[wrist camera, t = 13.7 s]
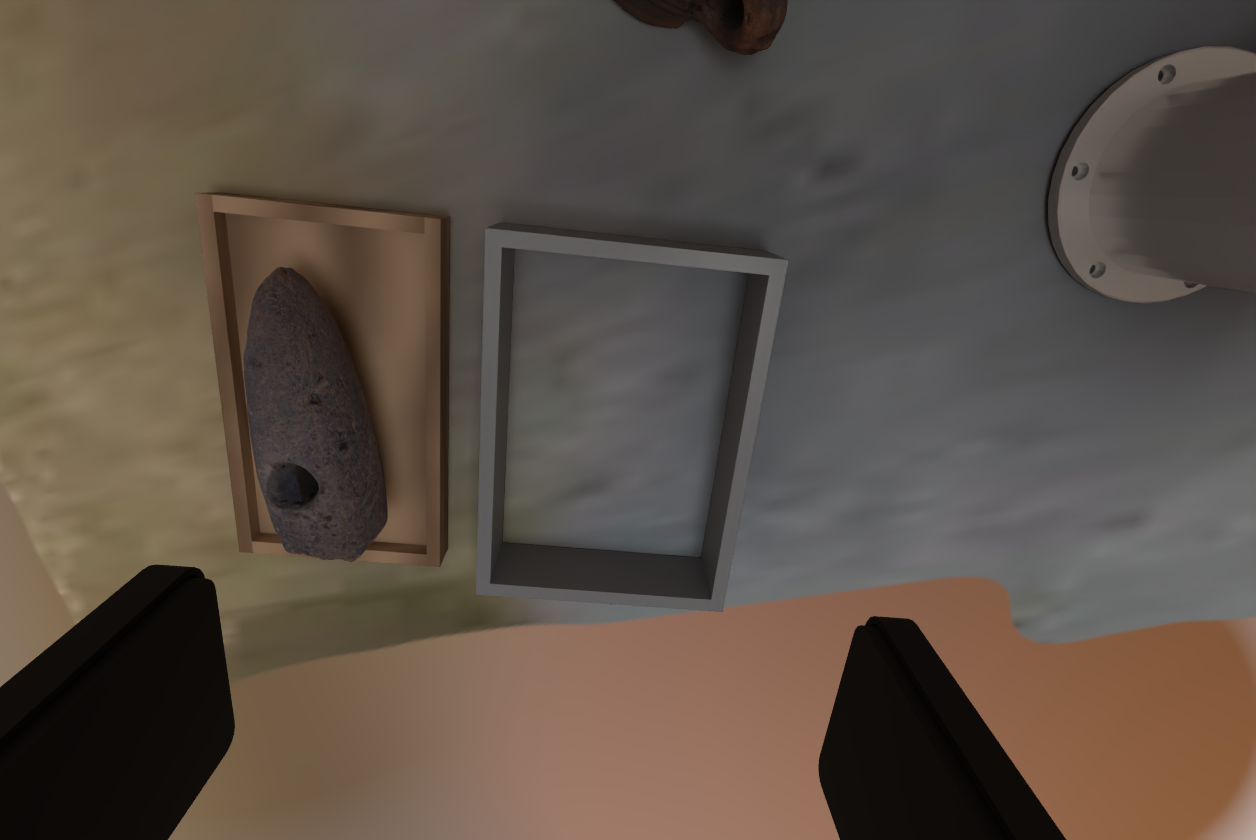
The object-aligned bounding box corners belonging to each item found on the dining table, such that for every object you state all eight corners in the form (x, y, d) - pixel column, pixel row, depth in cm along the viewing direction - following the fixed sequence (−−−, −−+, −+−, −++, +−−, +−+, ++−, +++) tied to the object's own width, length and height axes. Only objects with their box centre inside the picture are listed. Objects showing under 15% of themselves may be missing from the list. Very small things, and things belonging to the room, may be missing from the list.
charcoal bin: (767, 251, 35) (788, 260, 31) (711, 568, 42) (722, 612, 38) (500, 222, 34) (485, 227, 30) (489, 552, 41) (475, 594, 37)
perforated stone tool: (260, 262, 34) (176, 281, 27) (360, 257, 34) (300, 275, 27) (321, 512, 39) (262, 579, 32) (407, 508, 39) (366, 573, 32)
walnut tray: (449, 217, 34) (440, 219, 32) (447, 549, 41) (439, 566, 39) (218, 192, 33) (195, 192, 31) (256, 534, 40) (239, 551, 38)
